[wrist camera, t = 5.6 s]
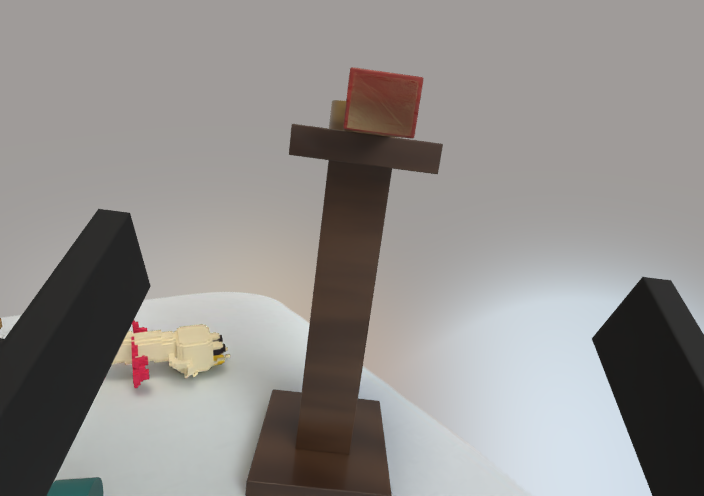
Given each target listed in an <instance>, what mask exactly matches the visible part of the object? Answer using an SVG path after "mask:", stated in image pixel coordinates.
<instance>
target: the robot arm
mask: <svg viewBox="0 0 704 496" xmlns="http://www.w3.org/2000/svg"><path fill="white" fill-rule="evenodd" d="M149 288H150V283H149V280H148V276H147V272H146V269H145V265H144V261H143V258H142V254H141V251H140V247H139V243H138V240H137V236H136V233H135V229H134V226H133V222H132V219H131V215H130V213H127V212H118V211H111V210H103V209H98V211H97V212H96V213H95V215H94V216H93V217H92V219H91V220H90V222H89V223H88V224H87V226H86V227H85V229H84V230H83V231H82V233H81V234H80V235H79V237H78V238H77V239H76V241H75V242H74V244H73V245H72V246H71V248H70V249H69V251H68V252H67V253H66V255H65V256H64V258H63V259H62V260H61V262H60V263H59V264H58V266H57V267H56V269H55V270H54V271H53V273H52V274H51V276H50V277H49V278H48V280H47V281H46V283H45V284H44V285H43V287H42V288H41V289H40V291H39V292H38V294H37V295H36V296H35V298H34V299H33V300H32V302H31V303H30V305H29V306H28V308H27V309H26V310H25V312H24V313H23V314H22V316H21V317H20V318H19V320H18V321H17V323H16V324H15V325H14V327H13V328H12V330H11V331H10V332H9V334H8V335H7V336H6V338H5V339H1V338H0V496H47V494H48V492H49V490H50V488H51V486H52V484H53V482H54V480H55V478H56V476H57V474H58V472H59V470H60V468H61V466H62V463H63V461H64V459H65V457H66V455H67V453H68V451H69V449H70V447H71V445H72V443H73V441H74V439H75V437H76V435H77V433H78V431H79V429H80V427H81V425H82V423H83V421H84V419H85V417H86V415H87V413H88V411H89V409H90V407H91V405H92V403H93V401H94V399H95V397H96V395H97V393H98V391H99V389H100V387H101V385H102V383H103V381H104V379H105V377H106V375H107V373H108V371H109V369H110V367H111V365H112V363H113V361H114V359H115V357H116V355H117V353H118V351H119V349H120V347H121V345H122V343H123V341H124V339H125V337H126V335H127V333H128V331H129V329H130V327H131V324H132V322H133V320H134V318H135V316H136V314H137V312H138V310H139V308H140V306H141V304H142V302H143V300H144V298H145V296H146V294H147V292H148V290H149ZM592 340H593V343H594V345H595V348H596V351H597V353H598V356H599V358H600V361H601V363H602V366H603V368H604V371H605V374H606V377H607V379H608V382H609V384H610V387H611V389H612V392H613V394H614V397H615V400H616V402H617V405H618V407H619V410H620V413H621V415H622V418H623V421H624V423H625V426H626V428H627V431H628V433H629V436H630V439H631V441H632V444H633V446H634V449H635V451H636V454H637V457H638V459H639V462H640V465H641V467H642V470H643V472H644V475H645V478H646V480H647V483H648V485H649V488H650V491H651V493H652V496H704V334H703V333H702V331H701V329H700V328H699V326H698V325H697V323H696V321H695V319H694V318H693V316H692V314H691V313H690V311H689V310H688V308H687V306H686V304H685V303H684V301H683V300H682V298H681V296H680V295H679V293H678V292H677V290H676V288H675V286H674V285H673V283H672V281H671V280H662V279H654V278H647V277H642V278H641V280H640V281H639V282H638V283H637V285H636V286H635V287H634V288H633V289H632V291H631V292H630V293H629V294H628V295H627V297H626V298H625V299H624V300H623V301H622V303H621V304H620V305H619V306H618V308H617V309H616V310H615V311H614V312H613V314H612V315H611V316H610V317H609V318H608V320H607V321H606V322H605V323H604V325H603V326H602V327H601V328H600V329H599V331H598V332H597V333H596V334H595V336H594V337H593V338H592Z"/></svg>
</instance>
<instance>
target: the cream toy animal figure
mask: <svg viewBox="0 0 704 496" xmlns="http://www.w3.org/2000/svg"><path fill="white" fill-rule="evenodd" d="M132 325H133V333H132V331H128V333H127V335H126V337H125V339H124V341H123V343H122V345H121V347H120V349H119V351H118V353H117V355H116V357H115V359H114V361H113V363H112V364H118V363H125V365H128V364H132V367H133V383H134V388H138V386H139V385H140V382H142V381H143V380H147V379H149V369H145V365H148V361H154V362H155V363H158V362H164V361H169V366H172V367H173V369H174V368H176V370H177V369H178V372H179V371H181V373H184V374H186V375H184V378H187V377H188V376H190V375H193V377H196V375H198V372H202V371H208V370H209V369H211V366H213V365H219V364H222V363H224V360H225V358H229V357H230V354H226V355H225V357H224V355H221V354H222V353H223V352H226V351H228V348H227V347H225V344H222V342H223V340H222V335H219V333H216V332H215V333H210V331H209V328H208V327H206V325H203V324H199V325H191V326H183V327H180V328H177V331H174V333H172V331H168V332H161V330H156V331H148V332H147V328H144V327H142V328H139V325H138V322H135V321H133V322H132ZM1 327H2V322H1V318H0V329H1ZM175 357H176V358H175Z"/></svg>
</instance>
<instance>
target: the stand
mask: <svg viewBox="0 0 704 496" xmlns="http://www.w3.org/2000/svg"><path fill="white" fill-rule="evenodd" d="M442 146H443V144H439V143H431V142H424V141H417V140H409V139H402V138H394V137H387V136H379V135H372V134H365V133H357V132H350V131H342V130H335V129H327V128H319V127H313V126H305V125H297V124H292V128H291V138H290V148H289V155H294V156H302V157H310V158H317V159H325V160H329V163H328V172H327V181H326V189H325V197H324V206H323V214H322V223H321V232H320V240H319V249H318V257H317V266H316V275H315V284H314V292H313V301H312V309H311V318H310V326H309V335H308V343H307V352H306V360H305V369H304V378H303V386H302V393H301V392H292V391H283V390H273V391H272V394H271V398H270V401H269V405H268V408H267V412H266V415H265V419H264V422H263V426H262V429H261V433H260V436H259V440H258V443H257V447H256V450H255V454H254V457H253V461H252V464H251V468H250V471H249V475H248V478H247V483H246V494H245V495H246V496H392V495H391V487H390V479H389V472H388V464H387V456H386V448H385V440H384V432H383V425H382V417H381V409H380V402H379V401H374V400H365V399H358V393H359V387H360V380H361V373H362V367H363V359H364V353H365V347H366V346H365V345H366V340H367V333H368V326H369V320H370V313H371V306H372V299H373V293H374V286H375V280H376V273H377V266H378V259H379V253H380V246H381V239H382V233H383V226H384V219H385V212H386V206H387V199H388V192H389V186H390V178H391V172H392V168H393V169H401V170H408V171H416V172H424V173H431V174H438V169H439V164H440V158H441V152H442Z"/></svg>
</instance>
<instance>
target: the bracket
mask: <svg viewBox="0 0 704 496" xmlns="http://www.w3.org/2000/svg"><path fill="white" fill-rule="evenodd" d="M47 496H103V484H102V480H101V478H99V477H96V478H82V479H67V480H56V481H55V482H54V483H53V484H52V486H51V488H50V490H49V492H48V494H47Z"/></svg>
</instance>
